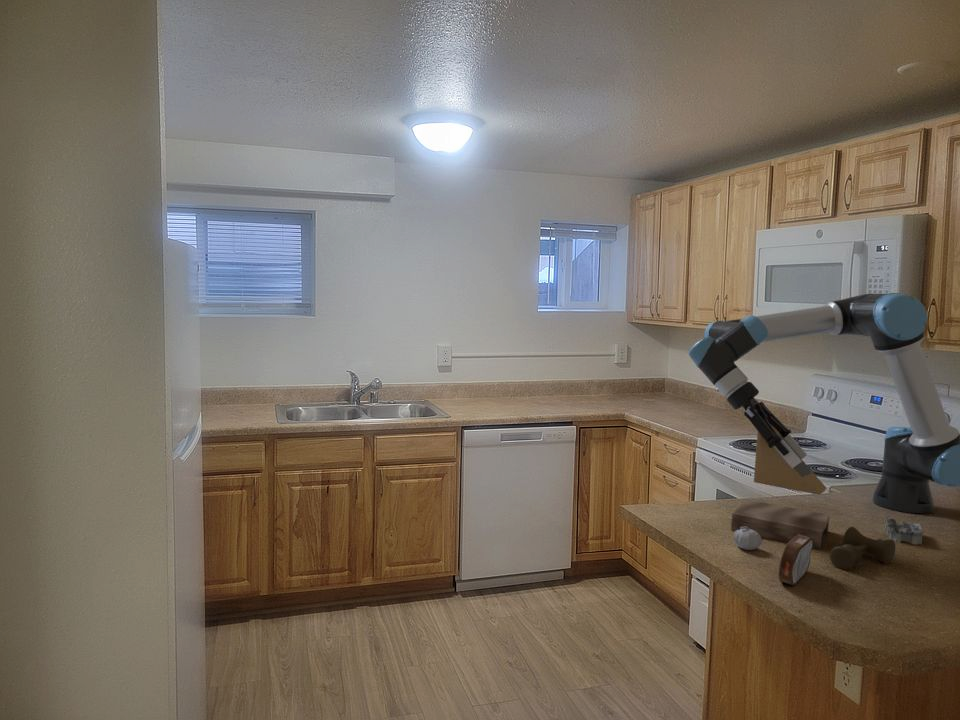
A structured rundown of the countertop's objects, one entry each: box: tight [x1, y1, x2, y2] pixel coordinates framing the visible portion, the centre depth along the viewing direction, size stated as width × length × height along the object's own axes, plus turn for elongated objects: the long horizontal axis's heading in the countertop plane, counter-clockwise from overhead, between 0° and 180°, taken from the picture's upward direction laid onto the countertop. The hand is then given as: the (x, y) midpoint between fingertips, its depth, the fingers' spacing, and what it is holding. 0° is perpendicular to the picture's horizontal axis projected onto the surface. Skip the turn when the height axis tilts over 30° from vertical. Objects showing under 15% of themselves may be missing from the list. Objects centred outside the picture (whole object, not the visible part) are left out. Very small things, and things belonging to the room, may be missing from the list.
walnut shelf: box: [730, 499, 830, 550], centre depth 171 cm, size 20×16×4 cm
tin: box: [778, 534, 813, 586], centre depth 141 cm, size 15×3×8 cm, turn 140°
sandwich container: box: [753, 425, 828, 496], centre depth 169 cm, size 9×15×15 cm, turn 52°
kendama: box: [829, 526, 896, 571], centre depth 153 cm, size 6×10×20 cm
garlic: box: [733, 526, 762, 551], centre depth 158 cm, size 6×5×5 cm
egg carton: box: [884, 514, 924, 545], centre depth 171 cm, size 11×8×4 cm
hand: (800, 461), depth 168 cm, fingers closed on sandwich container, 8 cm apart
